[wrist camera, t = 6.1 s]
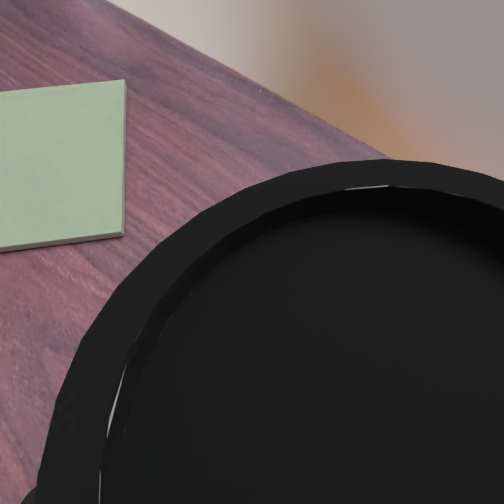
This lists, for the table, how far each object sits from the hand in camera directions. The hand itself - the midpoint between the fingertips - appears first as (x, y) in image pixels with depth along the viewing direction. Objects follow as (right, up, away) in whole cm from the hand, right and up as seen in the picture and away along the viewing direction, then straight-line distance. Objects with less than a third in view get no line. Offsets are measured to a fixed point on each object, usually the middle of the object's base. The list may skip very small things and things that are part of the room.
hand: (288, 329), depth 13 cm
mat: (-16, +9, +11) cm, 22 cm away
